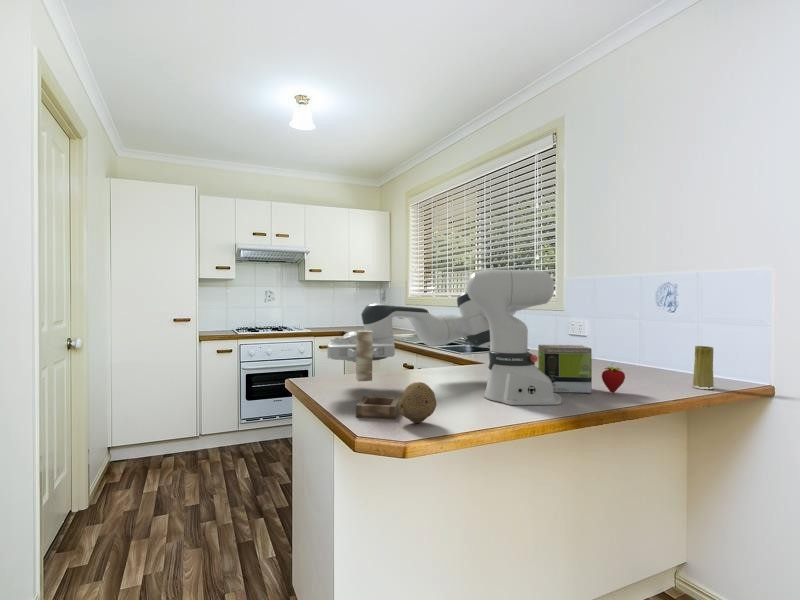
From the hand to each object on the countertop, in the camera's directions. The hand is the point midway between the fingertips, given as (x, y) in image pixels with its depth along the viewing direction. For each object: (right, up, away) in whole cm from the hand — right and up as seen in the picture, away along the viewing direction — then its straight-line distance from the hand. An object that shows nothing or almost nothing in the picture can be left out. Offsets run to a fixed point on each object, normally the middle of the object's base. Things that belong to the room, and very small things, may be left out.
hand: (364, 353), depth 129 cm
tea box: (+64, -15, +21) cm, 69 cm away
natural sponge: (+15, -15, -19) cm, 28 cm away
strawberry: (+79, -15, +17) cm, 82 cm away
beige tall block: (0, -8, +1) cm, 8 cm away
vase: (+114, -15, +26) cm, 118 cm away
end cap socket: (+4, -14, -10) cm, 18 cm away
